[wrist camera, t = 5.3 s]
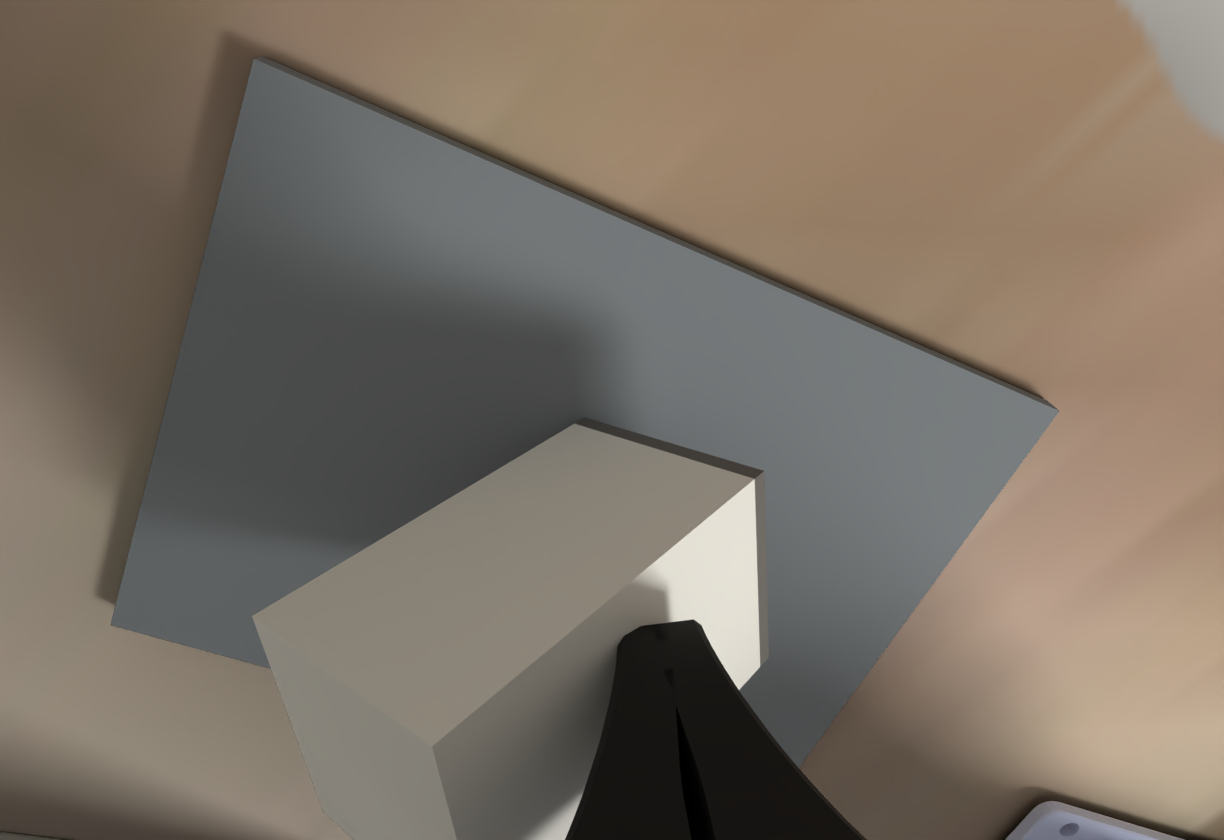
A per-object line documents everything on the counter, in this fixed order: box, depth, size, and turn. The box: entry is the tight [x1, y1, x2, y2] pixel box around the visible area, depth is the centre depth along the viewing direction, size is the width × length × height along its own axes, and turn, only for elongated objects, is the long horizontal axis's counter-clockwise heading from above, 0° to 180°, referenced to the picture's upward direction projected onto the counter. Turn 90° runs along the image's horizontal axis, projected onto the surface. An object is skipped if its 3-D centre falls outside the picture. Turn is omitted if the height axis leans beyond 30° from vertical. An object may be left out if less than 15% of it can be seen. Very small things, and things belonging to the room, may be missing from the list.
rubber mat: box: [111, 57, 1059, 768], centre depth 18 cm, size 16×12×1 cm
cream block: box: [252, 418, 769, 840], centre depth 14 cm, size 4×4×7 cm
